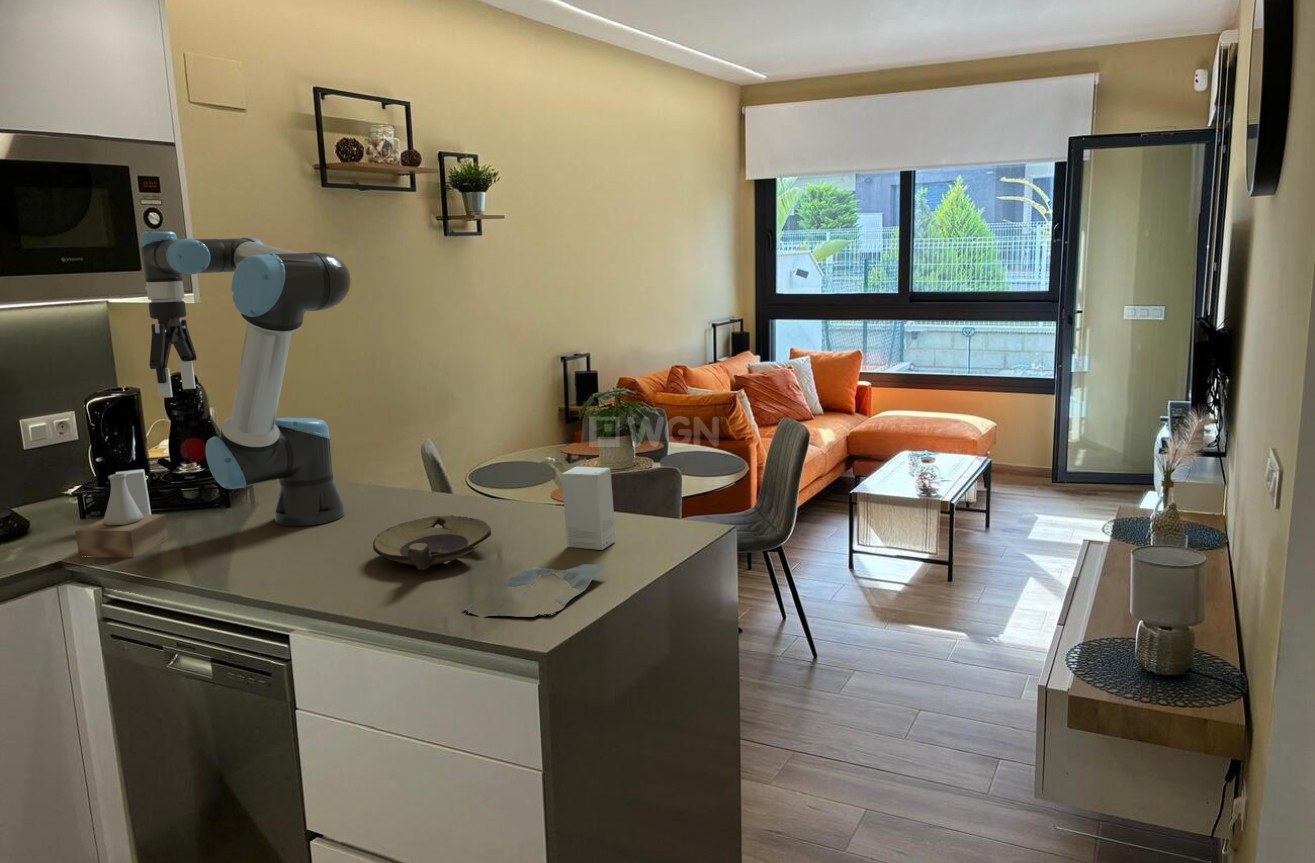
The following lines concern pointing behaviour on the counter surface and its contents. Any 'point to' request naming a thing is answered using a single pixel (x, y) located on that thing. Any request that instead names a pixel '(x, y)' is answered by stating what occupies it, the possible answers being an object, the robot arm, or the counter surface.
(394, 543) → the oil lamp
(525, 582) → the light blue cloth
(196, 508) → the counter surface
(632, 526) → the counter surface
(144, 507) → the skincare box
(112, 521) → the flask
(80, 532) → the walnut block
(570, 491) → the skincare box
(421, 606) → the counter surface
